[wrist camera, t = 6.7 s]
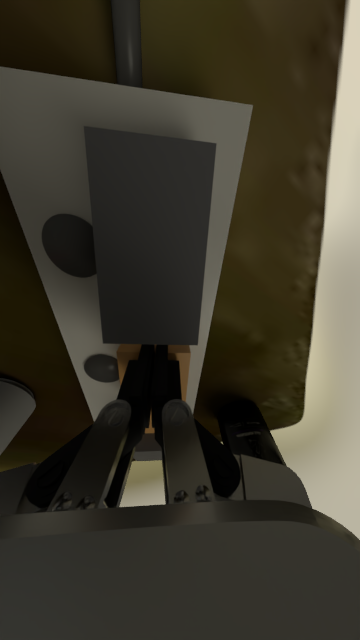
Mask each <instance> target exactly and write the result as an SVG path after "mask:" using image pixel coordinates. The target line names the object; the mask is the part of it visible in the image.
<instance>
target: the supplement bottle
mask: <svg viewBox="0 0 360 640" xmlns="http://www.w3.org/2000/svg"><path fill="white" fill-rule="evenodd" d="M217 419H218V424H219V428H220V433H221V437H222V441H223V445H224V446H225V447H226V448H227V449H228V450H229V451H230V452H231V453H232V454H234V455H238V456H240V455H241V454H242V455H246V456H250V457H254V458H258V459H261V460H265V461H269V462H273V463H277V464H281V465H284V466H286V464H285V462H284V460H283V458H282V455H281V453H280V452H279V449H278V447H277V445H276V443H275V441H274V439H273V437H272V435H271V433H270V430H269V428H268V426H267V424H266V422H265V420H264V418H263V416H262V414H261V412H260V410H259V408H258V407H257V406H256V405H255V404H253V403H251V402H247V401H238V402H233V403H230V404H227V405H226V406H224V407H223V408H221V410H220V411H219V413H218V416H217ZM286 467H287V466H286Z"/></svg>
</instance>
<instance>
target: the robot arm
mask: <svg viewBox="0 0 360 640" xmlns="http://www.w3.org/2000/svg"><path fill="white" fill-rule="evenodd" d="M154 349H155V345H153V344H142V345H141V349H140V353H139V357H138V360H129V362H128V365H127V368H126V371H125V374H124V377H123V380H122V384H121V387H120V390H119V393H118V396H117V399H116V400H114V401H111V402H110V403H108V404H106V405H105V406H104V407H103V408H102V410H101V411H100V413H99V415H98V416H97V418H96V420H95V422H94V424H92V425H91V426H90V427H88V428H87V429H85V430H84V431H83V432H81V433H80V434H79V435H77V436H76V437H75V438H73V439H72V440H71V441H69V442H68V443H67V444H65V445H64V446H63V447H61V448H60V449H59V450H57V451H56V452H55V453H53V454H52V455H51V456H49V457H48V458H47V459H46V460H44V461H43V462H41V463H38V464H36V463H35V462H34V463H30V464H27V465H23V466H20V467H16V468H13V469H9V470H6V471H2V472H0V640H360V540H359V539H358V538H357V537H356V536H355V535H354V534H353V533H352V532H350V531H349V530H348V529H346V528H345V527H344V526H343V525H341V524H340V523H338V522H336V521H335V520H333V519H332V518H330V517H328V516H326V515H325V514H323V513H321V512H319V511H317V510H314V509H312V506H311V504H310V501H309V498H308V495H307V492H306V490H305V488H304V485H303V484H302V481H301V480H300V478H299V477H298V476H297V475H296V473H295V472H293V471H292V470H291V469H290V468H288V467H286V466H284V465H281V464H277V463H273V462H269V461H265V460H261V459H258V458H254V457H250V456H246V455H242V454H241V455H240V456H238V455H234V454H232V453H231V452H230V451H229V450H228V449H227V448H226V447H225V446H224V445H223V444H222V443H221V442H220V441H218V440H217V439H216V438H215V437H214V436H213V435H212V434H211V433H210V432H209V431H207V430H206V429H205V428H204V427H203V426H202V425H201V424H200V423H199V422H198V421H197V420H195V419H194V418H193V414H192V411H191V408H190V406H189V405H188V404H187V403H186V402H185V401H183V400H182V393H181V379H180V364H179V361H178V360H168V345H156V354H155V362H154ZM150 415H151V418H152V428H154V434H155V440H156V441H157V443H158V444H159V445H160V446H161V453H162V465H163V477H164V489H165V501H166V504H165V505H150V506H134V507H119V505H120V502H121V499H122V495H123V491H124V488H125V484H126V481H127V477H128V474H129V470H130V467H131V462H132V460H133V456H134V453H135V449H136V445H137V444H138V443H139V442H140V441H141V440H142V437H143V435H145V428H149V424H150Z"/></svg>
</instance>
